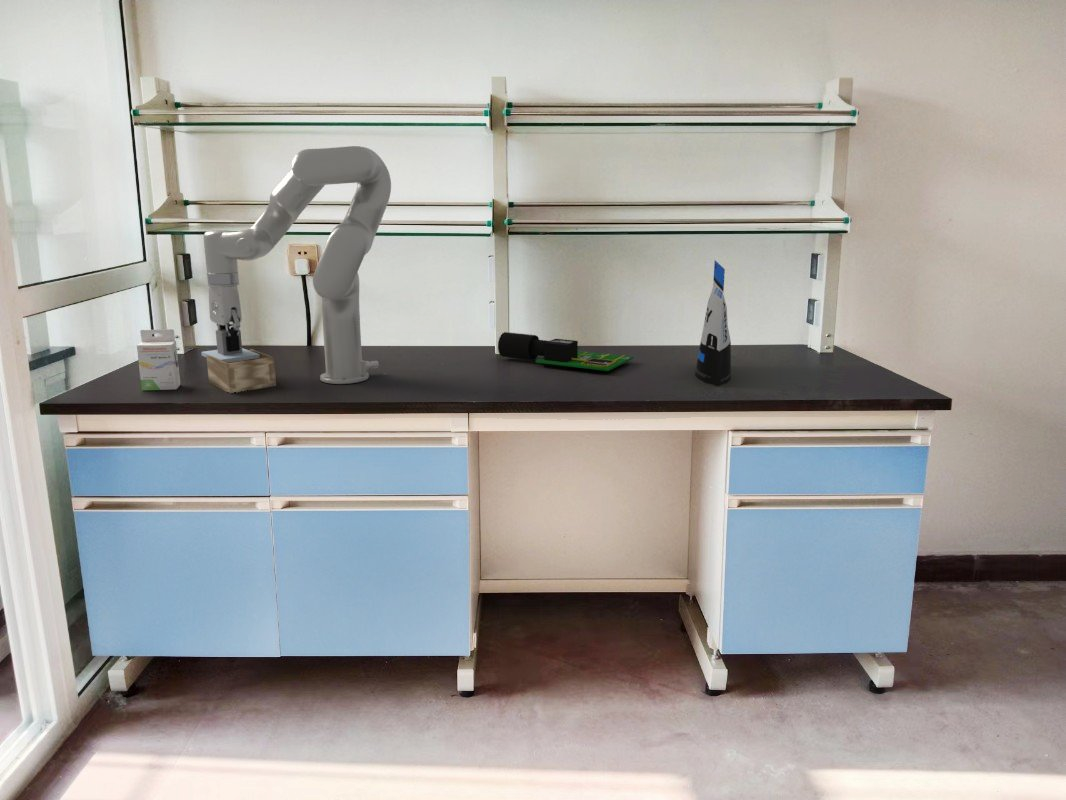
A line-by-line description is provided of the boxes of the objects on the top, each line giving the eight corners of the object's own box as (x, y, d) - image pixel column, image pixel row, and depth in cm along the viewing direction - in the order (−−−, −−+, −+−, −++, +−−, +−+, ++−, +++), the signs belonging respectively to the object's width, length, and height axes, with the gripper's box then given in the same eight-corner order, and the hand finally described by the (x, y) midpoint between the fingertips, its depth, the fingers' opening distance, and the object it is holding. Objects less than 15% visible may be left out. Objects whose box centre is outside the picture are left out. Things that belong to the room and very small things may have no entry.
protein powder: (725, 366, 235) (732, 260, 227) (736, 387, 211) (744, 269, 204) (691, 365, 236) (697, 259, 228) (698, 386, 212) (705, 269, 205)
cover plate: (239, 350, 225) (237, 325, 223) (259, 358, 216) (257, 331, 214) (201, 355, 218) (199, 329, 217) (220, 363, 209) (218, 336, 207)
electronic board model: (634, 335, 236) (608, 346, 221) (633, 363, 239) (608, 376, 223) (525, 325, 253) (495, 334, 238) (525, 351, 255) (495, 362, 240)
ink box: (140, 391, 208) (133, 333, 204) (145, 386, 212) (138, 329, 208) (177, 389, 209) (170, 331, 205) (181, 384, 214) (175, 328, 210)
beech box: (253, 376, 223) (251, 348, 221) (276, 385, 213) (273, 357, 211) (209, 383, 215) (206, 355, 214) (230, 393, 205) (227, 363, 203)
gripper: (196, 277, 215) (203, 346, 220) (221, 283, 203) (228, 356, 208) (224, 275, 220) (231, 343, 225) (251, 281, 208) (257, 352, 213)
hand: (229, 348), depth 217 cm, fingers closed on cover plate, 4 cm apart
